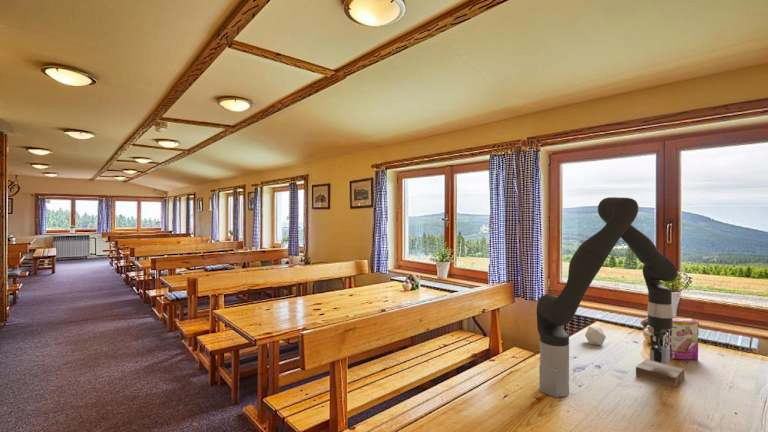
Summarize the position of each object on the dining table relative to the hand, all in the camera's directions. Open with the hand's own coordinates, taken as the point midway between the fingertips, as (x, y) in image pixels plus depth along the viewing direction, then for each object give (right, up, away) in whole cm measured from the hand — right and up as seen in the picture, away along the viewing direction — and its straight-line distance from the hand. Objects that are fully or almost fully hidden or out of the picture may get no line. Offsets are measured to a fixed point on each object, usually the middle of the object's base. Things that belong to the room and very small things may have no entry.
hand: (660, 359), depth 138 cm
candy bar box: (+23, -7, +18) cm, 30 cm away
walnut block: (0, -7, 0) cm, 7 cm away
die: (-4, -7, +35) cm, 36 cm away
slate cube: (0, 0, 0) cm, 0 cm away
